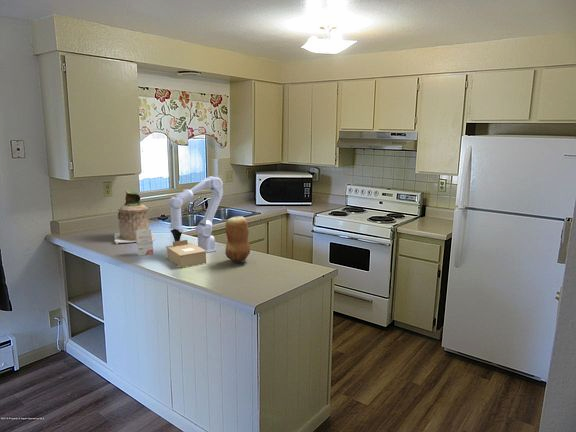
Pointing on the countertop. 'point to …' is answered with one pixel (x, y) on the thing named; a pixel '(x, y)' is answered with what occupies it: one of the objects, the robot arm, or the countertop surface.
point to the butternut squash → (237, 239)
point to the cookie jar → (132, 219)
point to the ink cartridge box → (144, 242)
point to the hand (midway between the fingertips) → (177, 242)
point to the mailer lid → (185, 248)
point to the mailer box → (186, 259)
